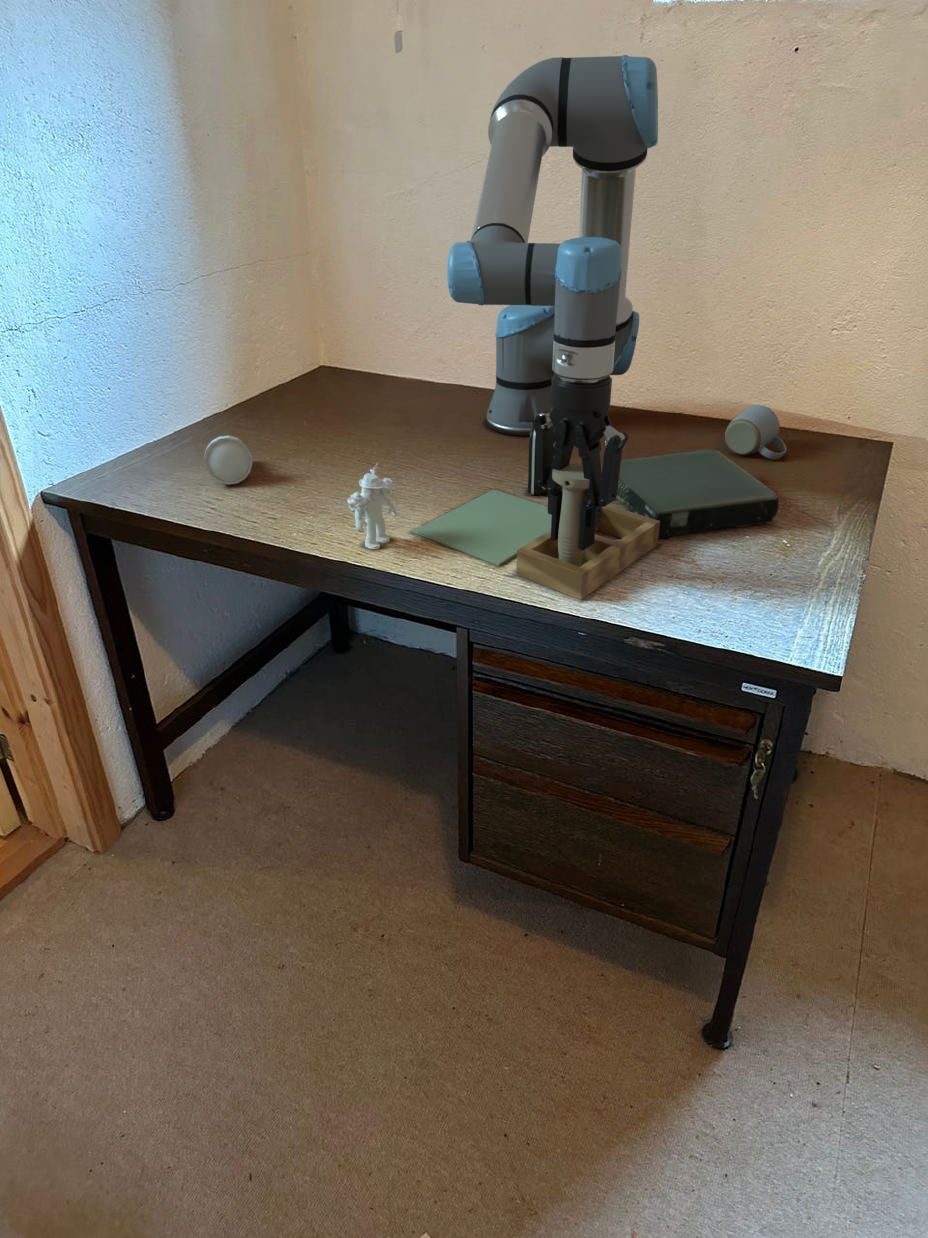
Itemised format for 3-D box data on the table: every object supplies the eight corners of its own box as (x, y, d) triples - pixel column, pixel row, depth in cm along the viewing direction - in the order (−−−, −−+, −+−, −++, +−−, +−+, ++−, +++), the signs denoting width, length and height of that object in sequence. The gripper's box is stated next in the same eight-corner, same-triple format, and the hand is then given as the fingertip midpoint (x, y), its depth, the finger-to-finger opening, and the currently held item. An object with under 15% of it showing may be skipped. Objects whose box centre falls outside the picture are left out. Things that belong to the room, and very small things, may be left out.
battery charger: (549, 498, 143) (551, 432, 137) (526, 495, 144) (528, 430, 138) (558, 482, 148) (561, 418, 142) (537, 479, 149) (539, 416, 143)
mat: (493, 491, 146) (493, 488, 145) (576, 518, 136) (576, 516, 136) (413, 532, 133) (413, 530, 133) (498, 566, 123) (498, 563, 123)
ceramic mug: (719, 452, 158) (725, 412, 154) (737, 439, 164) (744, 400, 160) (774, 466, 153) (783, 425, 149) (791, 452, 158) (800, 412, 154)
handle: (582, 583, 118) (589, 483, 110) (542, 570, 122) (546, 472, 113) (598, 568, 122) (606, 470, 114) (559, 556, 125) (563, 460, 117)
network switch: (586, 490, 145) (588, 462, 143) (702, 468, 152) (706, 441, 150) (662, 549, 127) (666, 518, 124) (790, 521, 134) (797, 492, 131)
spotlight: (203, 483, 147) (204, 436, 144) (203, 471, 157) (204, 427, 154) (251, 486, 149) (253, 439, 146) (249, 474, 159) (250, 431, 157)
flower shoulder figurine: (386, 528, 134) (381, 456, 128) (405, 535, 132) (401, 462, 126) (346, 550, 128) (339, 476, 122) (366, 558, 126) (359, 482, 120)
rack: (595, 524, 134) (597, 501, 132) (657, 545, 128) (660, 520, 126) (516, 574, 121) (516, 549, 119) (580, 600, 115) (582, 574, 113)
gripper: (509, 369, 109) (507, 533, 122) (625, 395, 99) (610, 570, 112) (544, 355, 114) (538, 514, 126) (657, 379, 104) (639, 549, 117)
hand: (572, 540), depth 119 cm, fingers closed on handle, 4 cm apart
